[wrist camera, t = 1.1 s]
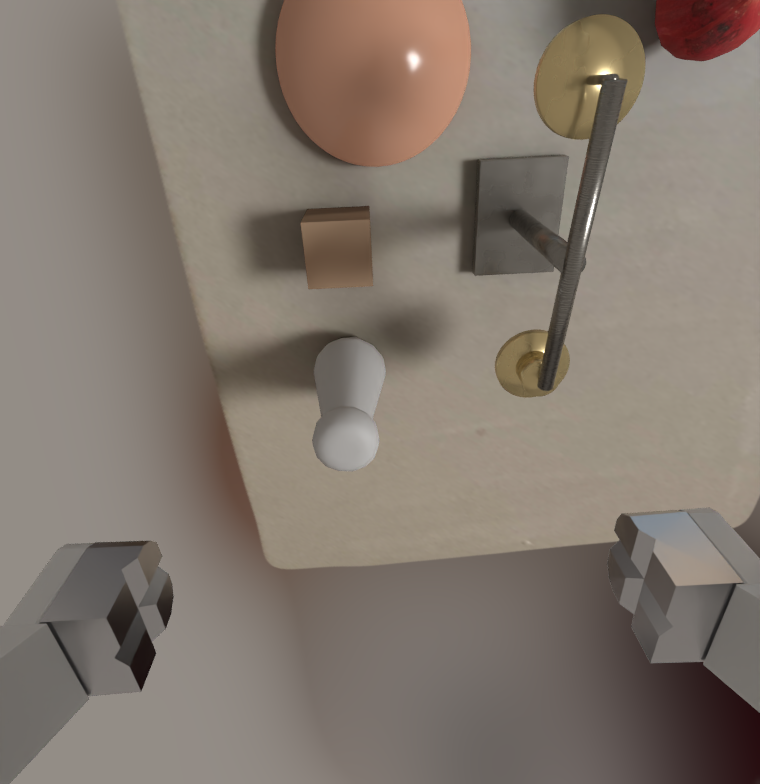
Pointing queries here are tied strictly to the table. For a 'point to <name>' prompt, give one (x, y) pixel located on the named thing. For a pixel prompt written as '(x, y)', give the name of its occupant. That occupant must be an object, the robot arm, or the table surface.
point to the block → (337, 247)
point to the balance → (555, 186)
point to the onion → (705, 26)
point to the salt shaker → (347, 403)
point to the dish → (373, 73)
